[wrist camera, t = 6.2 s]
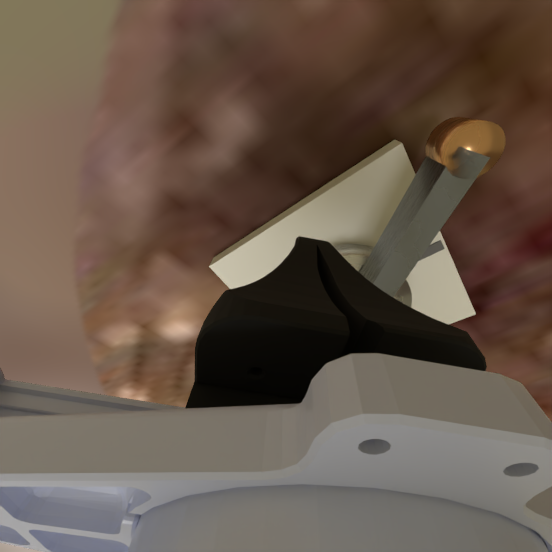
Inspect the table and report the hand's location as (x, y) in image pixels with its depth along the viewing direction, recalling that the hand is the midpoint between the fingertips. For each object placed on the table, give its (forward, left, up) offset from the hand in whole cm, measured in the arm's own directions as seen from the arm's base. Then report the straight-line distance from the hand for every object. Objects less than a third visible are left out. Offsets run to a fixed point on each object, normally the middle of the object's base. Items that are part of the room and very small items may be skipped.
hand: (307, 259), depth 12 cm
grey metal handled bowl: (-6, -2, -8) cm, 10 cm away
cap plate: (-9, +1, -10) cm, 13 cm away
